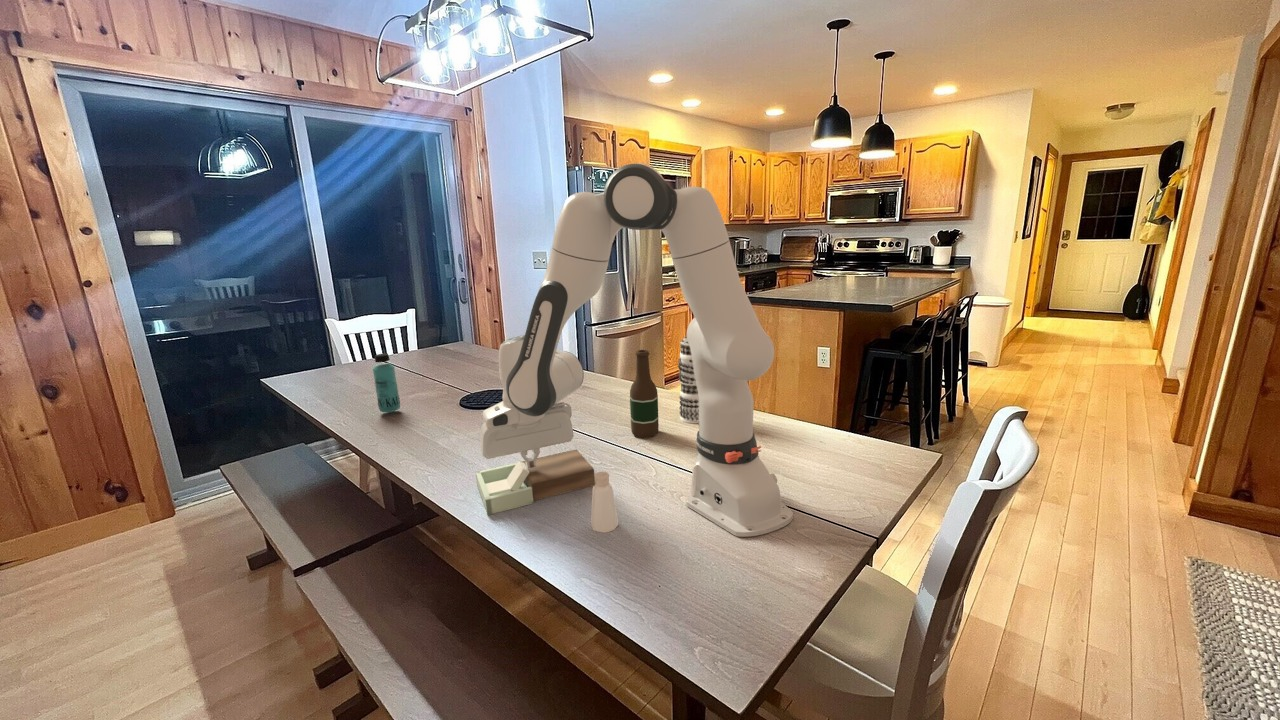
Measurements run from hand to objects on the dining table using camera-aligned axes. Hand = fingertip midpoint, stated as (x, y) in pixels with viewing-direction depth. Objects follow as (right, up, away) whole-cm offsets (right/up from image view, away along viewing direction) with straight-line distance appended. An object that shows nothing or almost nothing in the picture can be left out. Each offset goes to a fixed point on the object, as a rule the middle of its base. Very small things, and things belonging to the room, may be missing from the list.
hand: (531, 466), depth 114 cm
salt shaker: (+18, -9, -14) cm, 24 cm away
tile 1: (-7, -4, -2) cm, 8 cm away
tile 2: (-2, -2, -1) cm, 3 cm away
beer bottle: (+26, +3, +29) cm, 39 cm away
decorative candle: (+41, +6, +39) cm, 57 cm away
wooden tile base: (+5, -4, +4) cm, 8 cm away
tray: (-6, -6, -1) cm, 8 cm away
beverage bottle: (-57, +6, +52) cm, 78 cm away
